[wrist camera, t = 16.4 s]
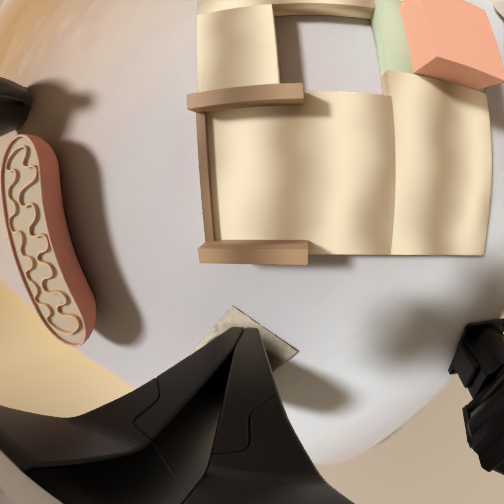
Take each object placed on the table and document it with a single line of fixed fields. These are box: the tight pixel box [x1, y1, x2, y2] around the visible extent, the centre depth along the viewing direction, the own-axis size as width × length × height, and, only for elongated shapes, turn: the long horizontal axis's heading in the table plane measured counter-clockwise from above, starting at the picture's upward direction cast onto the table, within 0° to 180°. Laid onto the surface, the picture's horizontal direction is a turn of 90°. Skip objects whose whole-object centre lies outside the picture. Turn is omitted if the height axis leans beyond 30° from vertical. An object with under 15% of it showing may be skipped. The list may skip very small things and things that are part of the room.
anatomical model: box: [0, 134, 96, 347], centre depth 23 cm, size 23×10×5 cm, turn 10°
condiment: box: [190, 306, 297, 372], centre depth 20 cm, size 7×8×12 cm
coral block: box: [398, 0, 504, 90], centre depth 10 cm, size 6×6×4 cm
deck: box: [197, 0, 492, 255], centre depth 16 cm, size 22×20×2 cm
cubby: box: [187, 83, 308, 265], centre depth 17 cm, size 7×11×2 cm, turn 3°
